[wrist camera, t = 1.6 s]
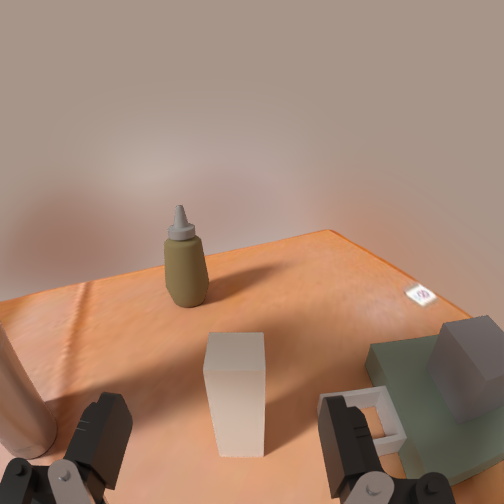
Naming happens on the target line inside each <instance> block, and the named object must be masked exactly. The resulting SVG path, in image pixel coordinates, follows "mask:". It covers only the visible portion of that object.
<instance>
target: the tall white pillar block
mask: <svg viewBox="0 0 504 504" xmlns="http://www.w3.org/2000/svg"><path fill="white" fill-rule="evenodd" d="M203 374H204V380H205V386H206V391H207V397H208V402H209V407H210V412H211V418H212V423H213V428H214V432H215V437H216V442H217V447H218V451H219V456H220V457H264V424H265V382H266V366H265V349H264V332H243V333H214V332H209V337H208V343H207V348H206V354H205V360H204V366H203Z"/></svg>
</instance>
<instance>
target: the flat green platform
mask: <svg viewBox="0 0 504 504" xmlns="http://www.w3.org/2000/svg"><path fill="white" fill-rule="evenodd" d="M365 367H366V369H367V372H368V374H369V377H370V379H371V382H372V384H373V388H366V389H359V390H351V391H343V392H334V393H324V394H320V396H319V401H318V405H317V413H318V418H319V414H320V409H321V405H322V400H323V397H329V396H337V395H343V396H344V399H345V402H346V405H347V407H352V406H356V407H357V408H358V409H362V408H369V407H374V406H375V408H376V410H377V413H378V416H379V419H380V421H381V424H382V427H383V430H384V433H385V435H386V437H383V438H379V439H374V440H373V442H374V445H375V448H376V451H377V454H378V456H382V455H386V454H391V453H395V452H398V453H399V456H400V459H401V462H402V465H403V468H404V471H405V474H406V477H407V479H420V477H422V476H423V475H424V474H426V473H429V472H438V473H441V474H443V475H444V476H445V477H446V478H447V479H448V481H449V484H450V487H451V486H453V485H455V484H457V483H460V482H462V481H464V480H466V479H468V478H470V477H472V476H474V475H476V474H478V473H480V472H482V471H484V470H486V469H488V468H490V467H492V466H493V465H495V464H497V463H499V462H501V461H502V460H504V332H503V331H502V330H501V329H500V328H499V327H498V325H497V324H496V323H495V322H494V321H493V320H492V319H491V318H490V317H489V316H488V315H486V316H481V317H476V318H470V319H465V320H459V321H453V322H447V323H443V325H442V328H441V330H440V333H439V335H433V336H427V337H421V338H414V339H407V340H400V341H393V342H385V343H377V344H371V345H370V349H369V352H368V356H367V360H366V363H365Z"/></svg>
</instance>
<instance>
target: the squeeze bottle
mask: <svg viewBox="0 0 504 504" xmlns="http://www.w3.org/2000/svg"><path fill="white" fill-rule="evenodd" d="M168 236H169V239H167V240H166V242H165V243H164V254H165V280H166V288H167V289H168V291H169V293H170V295H171V297H172V298H173V300H174V302H175V303H176V304H177V305H178V306H181V307H194V306H197V305H199V304H201V303H202V302H203V301H204V300H205V296H206V293H207V289H208V285H209V278H208V273H207V268H206V263H205V257H204V252H203V247H202V242H201V239H200V238H199V237H198V236H196V235H195V226H194V225H193V224H190V223H188V221H187V218H186V215H185V211H184V208H183V206H182V205H179V206H176V210H175V218H174V225H172V226H170V227H169V228H168Z"/></svg>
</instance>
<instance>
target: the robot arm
mask: <svg viewBox="0 0 504 504" xmlns="http://www.w3.org/2000/svg"><path fill="white" fill-rule="evenodd" d="M132 424H133V422H132V416H131V414H130V412H129V410H128V408H127V405H126V403H125V401H124V399H123V397H122V395H121V394H115V393H108V392H103V393H102V394H101V396H100V398H99V400H98V402H97V403H95V402H92V403H91V404H90V405H89V406H88V407H87V408H86V409H85V410H84V412H83V415H82V417H81V419H80V422H79V424H78V426H77V429H76V430H75V433H74V435H73V437H72V440H71V442H70V444H69V447H68V449H67V451H66V454H65V456H64V458H63V459H61V460H57V461H55V462H53V463H52V464H51V465H50V466H35V465H31V464H30V463H29V462H28V461H27V460H26V459H32V458H36V457H38V456H40V455H42V454H43V453H45V452H46V451H47V450H48V449H49V448H50V447H51V445H52V444H53V442H54V440H55V437H56V433H57V424H56V421H55V418H54V416H53V415H52V413H51V412H50V410H49V409H48V407H47V406H46V404H45V403H44V401H43V400H42V398H41V396H40V395H39V393H38V392H37V390H36V388H35V387H34V385H33V383H32V382H31V380H30V378H29V377H28V375H27V373H26V371H25V370H24V368H23V366H22V364H21V362H20V360H19V359H18V357H17V355H16V353H15V351H14V349H13V347H12V345H11V343H10V341H9V339H8V337H7V334H6V332H5V330H4V328H3V326H2V324H1V321H0V443H1V444H2V445H3V446H4V447H5V448H6V449H7V450H8V451H9V452H10V453H11V454H12V455H14V456H16V457H18V458H14V459H12V460H11V461H10V462H9V463H8V465H7V467H6V470H5V472H4V475H3V478H2V480H1V483H0V504H109V503H108V501H107V499H106V497H105V496H104V491H105V488H107V489H111V490H114V489H115V486H116V482H117V478H118V475H119V471H120V468H121V464H122V461H123V457H124V454H125V450H126V447H127V443H128V440H129V437H130V434H131V430H132ZM318 431H319V436H320V441H321V446H322V451H323V456H324V462H325V467H326V472H327V477H328V482H329V488H330V493H331V498H332V499H333V498H340V503H341V504H456V503H455V499H454V496H453V493H452V490H451V487H450V484H449V481H448V479H447V478H446V477H445V476H444V475H443V474H441V473H438V472H429V473H426V474H424V475H423V476H422V477H420V479H397V478H394V477H391V476H389V475H388V474H387V473H386V472H385V471H384V470H383V468H382V466H381V464H380V460H379V457H378V454H377V451H376V448H375V445H374V442H373V439H372V436H371V433H370V430H369V428H368V424H367V421H366V418H365V416H364V414H363V413H362V412H361V411H360V410H359V409H358V408H357V407H356V406H352V407H347V405H346V402H345V399H344V396H343V395H337V396H329V397H323V400H322V405H321V409H320V414H319V418H318Z"/></svg>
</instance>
